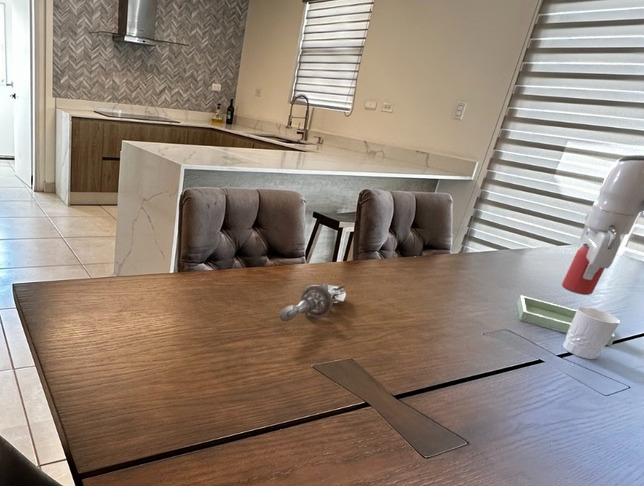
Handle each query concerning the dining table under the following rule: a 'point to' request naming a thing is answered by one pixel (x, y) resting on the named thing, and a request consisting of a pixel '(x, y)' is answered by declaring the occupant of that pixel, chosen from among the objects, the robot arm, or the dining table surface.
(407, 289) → the dining table surface
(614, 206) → the robot arm
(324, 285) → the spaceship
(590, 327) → the white cup
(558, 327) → the serving tray
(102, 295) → the dining table surface
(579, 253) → the beer can
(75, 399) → the dining table surface
